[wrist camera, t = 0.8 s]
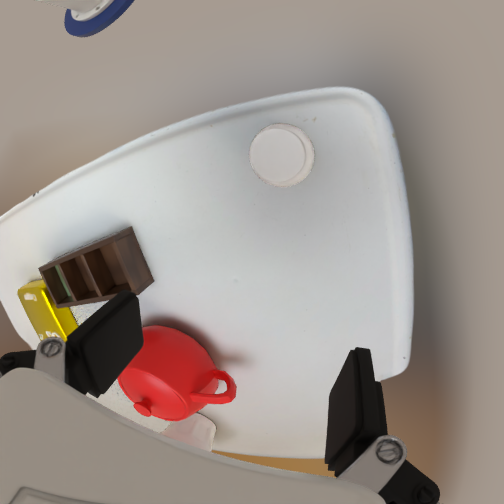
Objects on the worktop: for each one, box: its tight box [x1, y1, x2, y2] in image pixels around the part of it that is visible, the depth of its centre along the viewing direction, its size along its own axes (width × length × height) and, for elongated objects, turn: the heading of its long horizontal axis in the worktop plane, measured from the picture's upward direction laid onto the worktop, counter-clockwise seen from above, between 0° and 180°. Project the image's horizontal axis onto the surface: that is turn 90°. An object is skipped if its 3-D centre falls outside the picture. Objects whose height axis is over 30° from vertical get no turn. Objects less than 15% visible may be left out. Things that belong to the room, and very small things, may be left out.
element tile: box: [18, 280, 78, 342], centre depth 44 cm, size 15×15×5 cm
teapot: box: [118, 325, 236, 421], centre depth 35 cm, size 25×16×12 cm, turn 101°
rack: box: [38, 227, 154, 309], centre depth 36 cm, size 8×23×4 cm, turn 108°
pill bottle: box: [249, 123, 315, 187], centre depth 22 cm, size 5×5×9 cm
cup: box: [160, 413, 216, 452], centre depth 42 cm, size 12×12×11 cm
